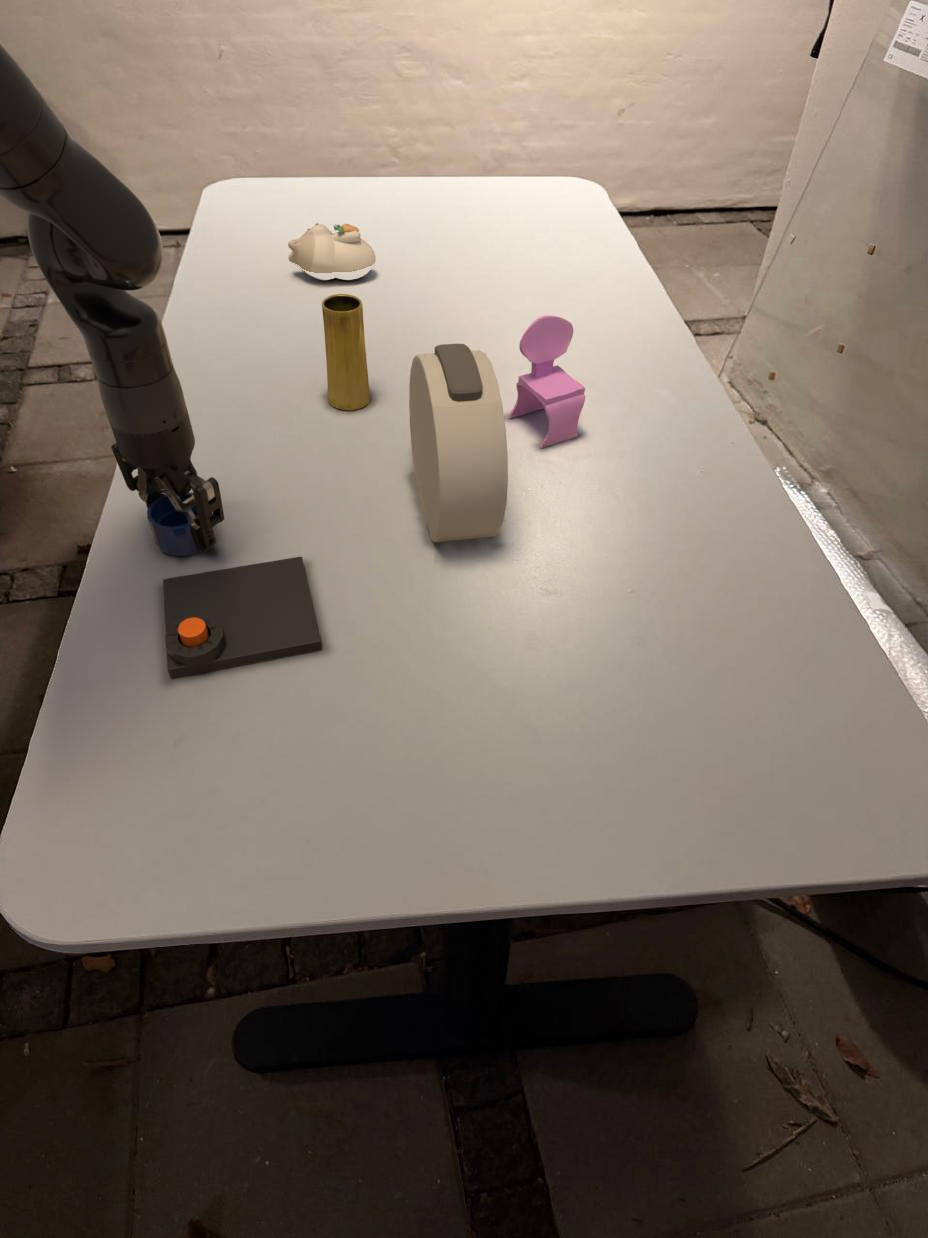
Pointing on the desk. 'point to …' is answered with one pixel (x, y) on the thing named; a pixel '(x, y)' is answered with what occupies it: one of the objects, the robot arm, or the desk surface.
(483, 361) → the alarm clock
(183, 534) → the bowl
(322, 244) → the cat figurine
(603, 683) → the desk surface
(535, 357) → the toy chair
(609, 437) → the desk surface
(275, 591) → the scale
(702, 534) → the desk surface
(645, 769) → the desk surface
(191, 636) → the button
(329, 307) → the vase
